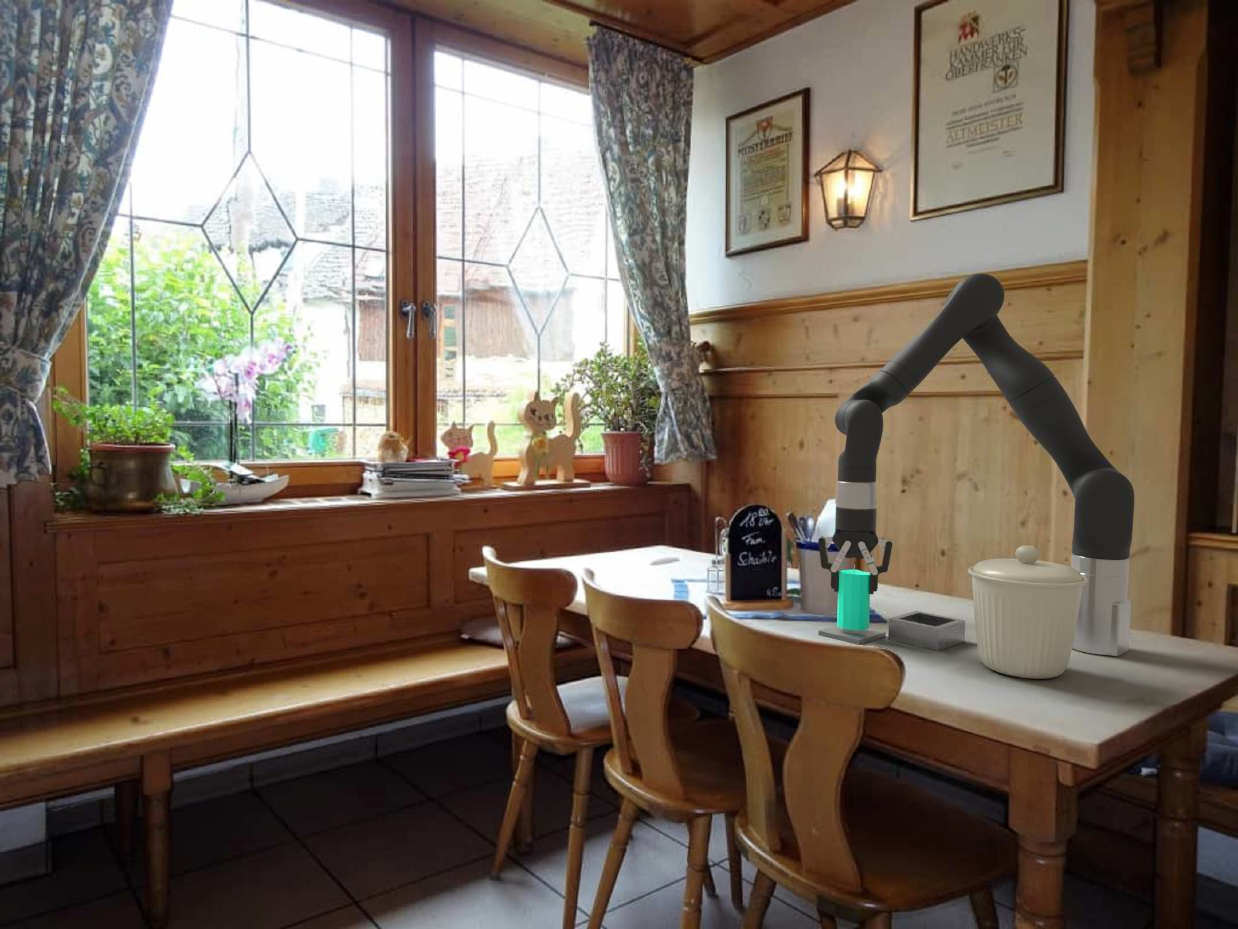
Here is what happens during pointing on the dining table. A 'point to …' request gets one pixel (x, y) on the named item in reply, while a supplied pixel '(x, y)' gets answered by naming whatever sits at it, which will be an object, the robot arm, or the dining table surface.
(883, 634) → the coaster
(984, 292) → the robot arm
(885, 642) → the dining table surface
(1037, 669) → the canister
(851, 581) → the candle
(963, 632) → the grey open box
